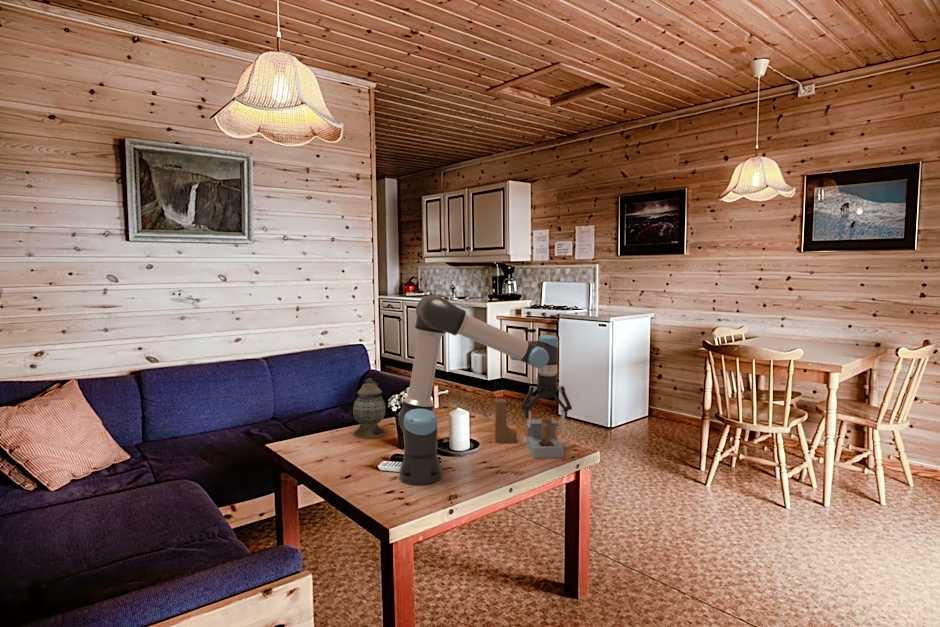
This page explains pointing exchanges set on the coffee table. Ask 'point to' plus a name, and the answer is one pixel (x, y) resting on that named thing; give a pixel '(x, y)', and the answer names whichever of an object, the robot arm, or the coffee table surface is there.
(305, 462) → the coffee table surface
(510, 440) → the wooden block
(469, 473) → the coffee table surface
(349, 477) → the coffee table surface
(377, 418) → the lantern
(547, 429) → the dowel
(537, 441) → the socket block
